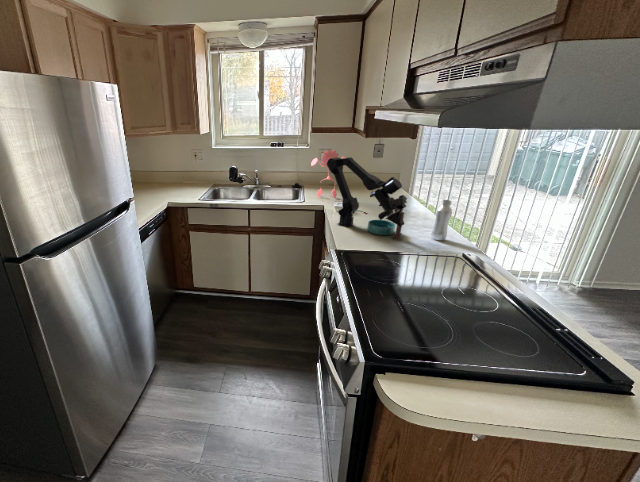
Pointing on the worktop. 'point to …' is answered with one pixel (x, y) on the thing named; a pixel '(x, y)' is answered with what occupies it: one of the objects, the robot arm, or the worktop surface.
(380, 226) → the bowl
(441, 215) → the plastic bottle
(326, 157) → the figurine
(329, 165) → the robot arm
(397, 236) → the post
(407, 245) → the worktop surface
